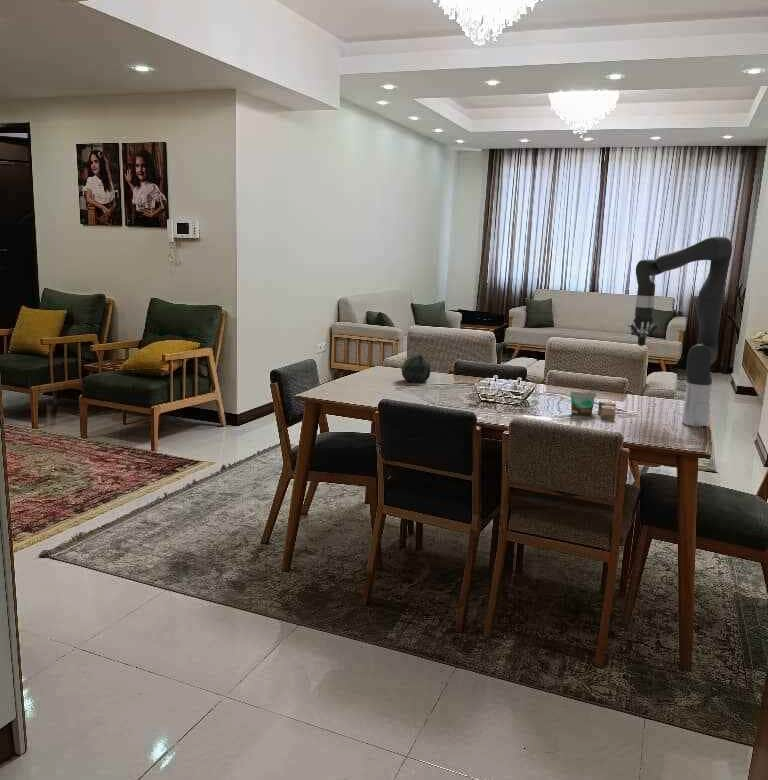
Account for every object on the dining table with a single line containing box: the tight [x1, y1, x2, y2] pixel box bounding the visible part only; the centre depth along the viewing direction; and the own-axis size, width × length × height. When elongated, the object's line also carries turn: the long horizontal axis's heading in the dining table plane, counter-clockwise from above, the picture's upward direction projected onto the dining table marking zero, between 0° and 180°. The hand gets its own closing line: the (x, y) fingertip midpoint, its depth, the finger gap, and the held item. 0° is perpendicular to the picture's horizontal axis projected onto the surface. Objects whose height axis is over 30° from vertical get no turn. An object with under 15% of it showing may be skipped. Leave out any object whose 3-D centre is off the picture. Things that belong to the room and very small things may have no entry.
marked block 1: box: [597, 400, 617, 414], centre depth 304 cm, size 5×5×5 cm
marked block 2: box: [599, 405, 616, 421], centre depth 296 cm, size 5×5×5 cm
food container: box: [569, 389, 597, 417], centre depth 302 cm, size 12×6×10 cm, turn 114°
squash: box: [401, 354, 432, 383], centre depth 365 cm, size 14×15×15 cm
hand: (641, 345), depth 309 cm, fingers closed
